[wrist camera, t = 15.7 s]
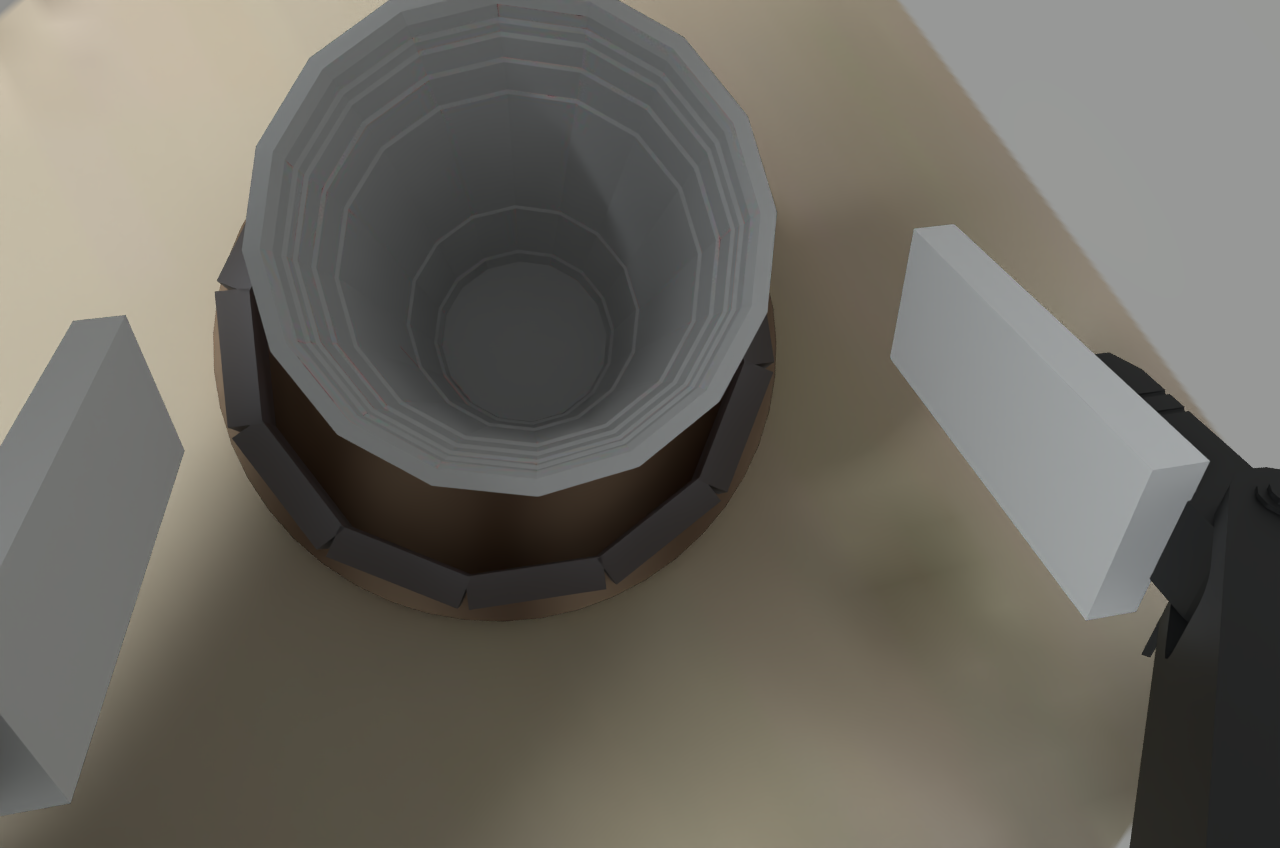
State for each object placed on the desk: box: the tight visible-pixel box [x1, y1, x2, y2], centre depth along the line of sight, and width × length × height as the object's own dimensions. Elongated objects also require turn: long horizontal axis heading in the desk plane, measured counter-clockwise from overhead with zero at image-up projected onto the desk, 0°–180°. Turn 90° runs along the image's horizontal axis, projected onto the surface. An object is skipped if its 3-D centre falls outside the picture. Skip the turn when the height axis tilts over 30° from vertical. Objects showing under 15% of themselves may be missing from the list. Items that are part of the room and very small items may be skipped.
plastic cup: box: [242, 0, 777, 497], centre depth 24 cm, size 11×11×12 cm
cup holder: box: [213, 220, 776, 621], centre depth 29 cm, size 18×18×3 cm
